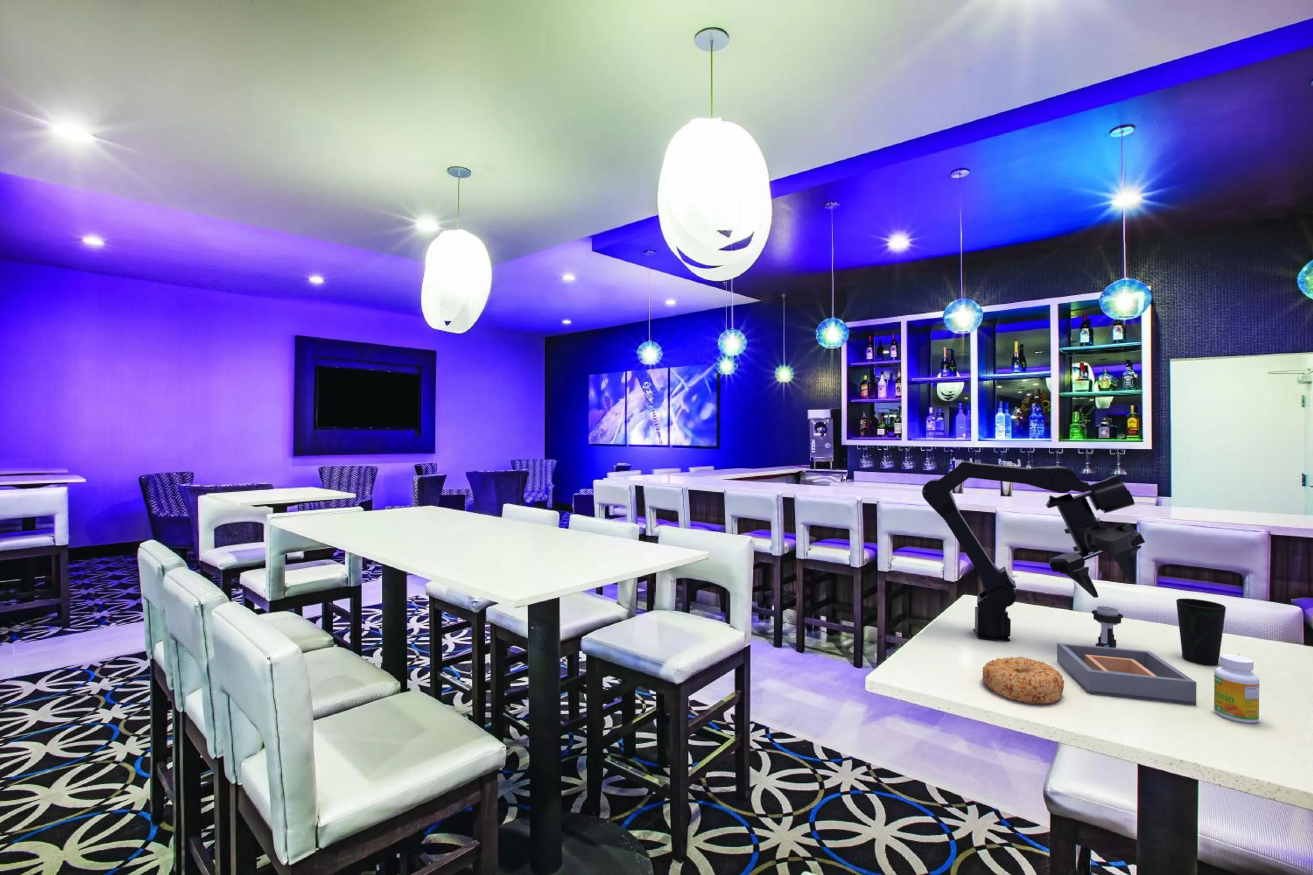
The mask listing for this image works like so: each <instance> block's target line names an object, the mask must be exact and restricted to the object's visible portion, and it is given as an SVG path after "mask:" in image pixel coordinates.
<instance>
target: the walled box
mask: <svg viewBox="0 0 1313 875" xmlns="http://www.w3.org/2000/svg"><path fill="white" fill-rule="evenodd" d="M1056 663H1057V664H1058V665H1059V666H1060V667H1061V668H1062V669H1063V670H1064V671H1065V672H1066V673H1067V674H1068V675H1069V676H1070V677H1071V678H1072V679H1073V680H1074V681H1075V682H1076V683H1077V684H1078V685H1079V686H1080V687H1081V688H1082V689H1083V690H1084V691H1085V692H1086V693H1087V694H1088V695H1097V696H1098V695H1099V696H1108V697H1115V698H1124V699H1125V698H1126V699H1135V700H1144V701H1152V702H1162V703H1171V704H1177V705H1178V704H1179V705H1180V704H1181V705H1189V706H1197V682H1196V681H1195V680H1193V679H1192V678H1191V677H1189V676H1188V675H1187V674H1185V673H1183V672H1182V671H1181V670H1179V669H1177V668H1176V667H1175V666H1174V665H1172V664H1170V663H1168V662H1167V661H1165V660H1164V659H1162V658H1161V657H1159V656H1158V655H1156V654H1155V653H1153V652H1152V651H1150V650H1142V649H1130V648H1120V647H1119V648H1118V647H1116V648H1110V647H1099V646H1096V645H1085V644H1076V643H1067V642H1066V643H1064V642H1057V643H1056Z"/></svg>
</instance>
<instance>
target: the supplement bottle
mask: <svg viewBox="0 0 1313 875" xmlns="http://www.w3.org/2000/svg"><path fill="white" fill-rule="evenodd" d="M1219 664H1220V665H1221V666H1216V667H1215V669H1214V672H1213V676H1214V677H1213V678H1214V680H1213V682H1214V683H1213V684H1214V686H1213V689H1214V690H1213V710H1214V713H1215V714H1217V715H1218V716H1221V717H1222V718H1225V719H1227V720H1229V721H1230V720H1231V721H1234V722H1237V723H1242V724H1256V723H1258V722H1259V721H1260V678H1259V677H1258V675H1257V674H1255V673H1254V672H1252V671H1253V670H1254V667H1255V666H1254V660H1253V659H1251V658H1249V657H1246V656H1243V655H1240V654H1239V655H1237V654H1232V653H1220V656H1219Z"/></svg>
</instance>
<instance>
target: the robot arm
mask: <svg viewBox="0 0 1313 875" xmlns="http://www.w3.org/2000/svg"><path fill="white" fill-rule="evenodd" d="M968 479H977V480H978V479H979V480H987V481H996V482H1003V483H1004V482H1006V483H1016V484H1022V485H1029V486H1031V487H1036V488H1038V489H1043V490H1045V491H1050V492H1054V493H1057V494H1063V495H1059V496H1056V497H1055V496H1053V495H1049V496H1048V500H1047V502H1046V503H1045V507H1047V509H1052V508H1055V507H1056V508H1057V509H1058V512H1059V513H1060V516H1061V517H1062V519H1063V522H1064V523H1065V525H1066V528H1065V529H1063V531H1064V533H1065V534H1066V535H1067V534H1069V535H1070V536H1071V538H1072V540H1073V542H1074V544H1075V545H1074V546H1073V547H1072V549H1073V550H1074V553H1071V552H1070V553H1062V554H1060V555H1057V556H1054V557H1052V558H1050V560H1049V567H1050V568H1051V571H1052V573H1059V574H1063V575H1064V574H1065V575H1066V576H1068V577H1069V578H1070V579H1072V580H1073V581H1074V582H1076V583H1077V584H1078V585H1079V586H1080V587H1081V588H1082V589H1083V590H1085V591H1086V592H1087V593H1088V594H1089V595H1090V596H1091V597H1093V599H1094V598H1096V599H1097V598H1099V594H1098V591H1097V589H1096V586H1095V585H1094V583H1093V581H1092V578H1091V577H1090V575H1089V571H1090V567H1089V566H1085V564H1086V561H1087V560H1089V559H1092V558H1094V557H1097V556H1100V555H1102V554H1105V553H1106V554H1108V555H1111V556H1112V557H1113V559H1114V560H1115V562H1116V564H1117V566H1118V568H1119V569H1120V570H1121V571H1122V573H1123V574H1124V576H1125V577H1126V579H1127V580H1128V581H1129V582H1130V583H1133V584H1134V583H1136V582H1137V580H1136V567H1135V558H1136V554H1137V552H1138V551H1139V550H1141V548H1142V544H1144V543H1146V541H1145V539H1144V536H1143V535H1142V533H1140V532H1139V531H1137V530H1136V529H1135V530H1134V528H1133V527H1132V526H1131V524H1129V523H1126V522H1123V523H1120V524H1118V525H1116V527H1115V526H1114V527H1112V528H1109V527H1107V525H1106V523H1105V522H1104V521H1103V520H1098V519H1097V517H1096V516H1095V514H1094V511H1093V510H1092V507H1091V506H1090V505H1092V506H1093V508H1094V510H1095V511H1099V510H1100V511H1102V512H1103V514H1108V513H1112V512H1114V511H1118V510H1121V509H1125V508H1128V507H1131V506H1135V504H1136V503H1135V500H1134V498H1133V495H1132V493H1131V491H1130V490H1129V489H1128V488H1127V486H1126V484H1124V482H1123V481H1122V479H1121V478H1120V476H1119V475H1113V476H1110V477H1107V479H1103V480H1101V481H1097V482H1094V483H1090V484H1089V482H1088V481H1085V480H1084V481H1083V480H1081V479H1079V478H1078V477H1077V475H1076V473H1075V472H1074V471H1073V470H1071V469H1070V468H1068V467H1066V466H1061V465H1056V466H1055V465H1052V466H1050V465H1049V466H1034V467H1023V466H1021V467H1020V466H1009V465H1001V464H992V463H991V464H990V463H981V462H974V461H973V462H972V461H969V460H963V461H961V462H960V463H959V464H958V465H957V466H955V467H954V468H953V469H951V470H950V471H949V472H948V473H946V474H945V475H943V476H942V477H940V478H933V479H930V480H929V481H927V482H926V483H925V484H924V485H923V487H922V490H921V495H922V497H923V499H924V501H926V502H927V504H928V505H929V506H931V508H932V509H933V510H934V511H935V512H936V513H937V514H938V515H939V516H940V517H941V518H942V519H943V520H944V522H945V523H946V525H947V526H948V527H949V530H951V533H952V534H953V536H954V537H955V539H956V540H957V542H958V543H959V545H960V547H961V548H962V549H963V551H964V553H965V555H966V556H967V557H968V559H969V561H970V562H971V564H972V565H973V566H974V568H975V570H976V572H977V573H978V576H979V579H980V582H981V585H982V586H983V590H982V591H981V592H980V593H978V594H977V596H976V606H974V627H973V628H972V631H973V633H974V635H975V636H976V638H978V639H979V640H980V639H981V640H991V641H1003V642H1011V638H1010V637H1011V634H1012V633H1011V632H1012V631H1011V630H1012V629H1011V628H1012V626H1011V625H1012V623H1011V618H1010V617H1009V612H1008V610H1007V608H1009V607H1011V606H1012V605H1014V604H1015V602H1016V599H1017V592H1016V588H1017V585H1016V580H1014V579H1013V578H1012V577H1011V576H1010V575H1009V573H1008V570H1007V568H1006V566H1002V567H1001V568H999V567H998V566H997V565H996V564H995V563H993V561H992V560H991V558H990V556H989V555H988V553H987V552H986V551H985V548H983V546H982V545H981V543H980V542H979V540H978V538H977V536H976V535H975V533H974V532H973V531H972V529H971V528H970V525H968V523H967V522H966V519H965V518H964V517H963V515H962V513H961V512H960V511H959V508H958V506H957V503H956V500H955V498H954V495H953V494H952V491H953V490H954V489H956V488H957V487H958V486H960V485H961V484H963V483H964V482H966V481H967V480H968ZM1071 491H1074V492H1077V493H1081V494H1078V495H1072V494H1071ZM1087 497H1088V498H1089V501H1090V502H1091V504H1090V503H1089V501H1088V499H1087Z"/></svg>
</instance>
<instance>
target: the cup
mask: <svg viewBox="0 0 1313 875" xmlns="http://www.w3.org/2000/svg"><path fill="white" fill-rule="evenodd" d="M1175 601H1176V611H1177V620H1178V630H1179V638H1180V647H1181V655H1182V659H1183V660H1185V661H1187V662H1189V663H1190V664H1191V663H1192V664H1196V665H1201V666H1206V667H1207V666H1208V667H1218V666H1219V664H1220V655H1221V650H1222V648H1221V647H1222V640H1223V632H1224V624H1225V618H1226V610H1227V607H1226V606H1225V605H1224V604H1221V603H1218V602H1214V601H1210V600H1204V599H1197V598H1183V597H1182V598H1177V599H1176V600H1175Z"/></svg>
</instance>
